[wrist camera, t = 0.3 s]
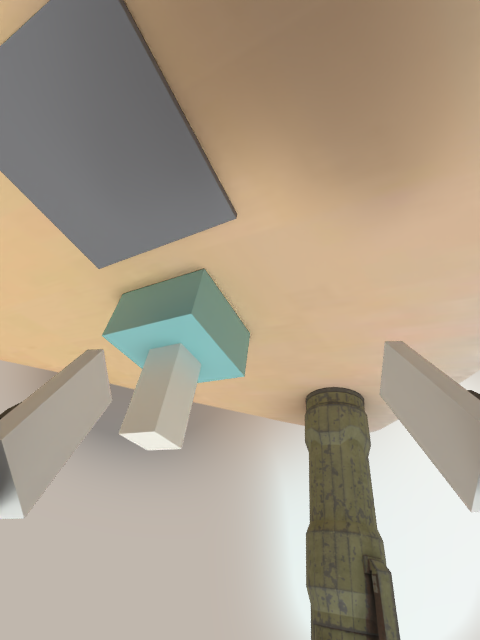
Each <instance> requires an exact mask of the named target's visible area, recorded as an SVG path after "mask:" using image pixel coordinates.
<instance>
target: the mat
mask: <svg viewBox="0 0 480 640" xmlns="http://www.w3.org/2000/svg"><path fill="white" fill-rule="evenodd" d="M0 171H1V172H2V173H3V174H4V175H5V176H6V177H7V178H8V179H9V180H10V181H11V182H12V183H13V184H14V185H15V186H16V187H17V188H18V189H19V190H20V191H21V192H22V193H23V194H24V195H25V196H26V197H27V198H28V199H29V200H30V201H31V202H32V203H33V204H34V205H35V206H36V207H37V208H38V209H39V210H40V211H41V212H42V213H43V214H44V215H45V216H46V217H47V218H48V219H49V220H50V221H51V222H52V223H53V224H54V225H55V226H56V227H57V228H58V229H59V230H60V231H61V232H62V233H63V234H64V235H65V236H66V237H67V238H68V239H69V240H70V241H71V242H72V243H73V244H74V245H75V246H76V247H77V248H78V249H79V250H80V251H81V252H82V253H83V254H84V255H85V256H86V257H87V258H88V259H89V260H90V261H91V262H92V263H93V264H94V265H95V266H96V267H97V268H98V269H100V268H103V267H106V266H108V265H111V264H114V263H117V262H119V261H122V260H125V259H128V258H130V257H133V256H136V255H138V254H141V253H144V252H147V251H149V250H152V249H155V248H157V247H160V246H163V245H166V244H168V243H171V242H174V241H177V240H179V239H182V238H185V237H187V236H190V235H193V234H196V233H198V232H201V231H204V230H206V229H209V228H212V227H215V226H217V225H220V224H223V223H225V222H228V221H231V220H234V219H236V217H237V213H236V211H235V210H234V208H233V206H232V204H231V202H230V200H229V198H228V196H227V195H226V193H225V191H224V189H223V187H222V185H221V183H220V181H219V179H218V178H217V176H216V174H215V172H214V170H213V168H212V166H211V164H210V163H209V161H208V159H207V157H206V155H205V153H204V151H203V149H202V148H201V146H200V144H199V142H198V140H197V138H196V136H195V134H194V132H193V131H192V129H191V127H190V125H189V123H188V121H187V119H186V117H185V116H184V114H183V112H182V110H181V108H180V106H179V104H178V102H177V100H176V99H175V97H174V95H173V93H172V91H171V89H170V87H169V85H168V84H167V82H166V80H165V78H164V76H163V74H162V72H161V70H160V69H159V67H158V65H157V63H156V61H155V59H154V57H153V55H152V53H151V52H150V50H149V48H148V46H147V44H146V42H145V40H144V38H143V37H142V35H141V33H140V31H139V29H138V27H137V25H136V23H135V22H134V20H133V18H132V16H131V14H130V12H129V10H128V8H127V6H126V5H125V3H124V1H123V0H50V1H49V2H48V3H47V4H46V5H45V6H43V7H42V8H41V9H40V10H39V11H38V12H37V13H36V14H35V15H34V16H33V17H32V18H30V19H29V20H28V21H27V22H26V23H25V24H24V25H23V26H22V27H21V28H20V29H19V30H17V31H16V32H15V33H14V34H13V35H12V36H11V37H10V38H9V39H8V40H7V41H6V42H5V43H3V44H2V45H1V46H0Z"/></svg>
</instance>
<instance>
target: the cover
mask: <svg viewBox="0 0 480 640" xmlns="http://www.w3.org/2000/svg"><path fill="white" fill-rule="evenodd" d="M102 336H103V337H104V338H105V339H106V340H108V341H109V342H110V343H111V344H113V345H114V346H115V347H116V348H117V349H119V350H120V351H121V352H122V353H124V354H125V355H126V356H127V357H128V358H130V359H131V360H132V361H133V362H135V363H136V364H137V365H138V366H139V367H141V368H142V372H141V374H140V377H139V380H138V383H137V385H136V388H135V391H134V394H133V396H132V399H131V402H130V404H129V407H128V410H127V413H126V415H125V418H124V421H123V423H122V426H121V429H120V431H119V434H120V435H121V436H123V437H125V438H126V439H128V440H130V441H132V442H133V443H135V444H137V445H139V446H141V447H142V448H144V449H146V450H165V449H182V445H183V441H184V436H185V432H186V428H187V423H188V419H189V415H190V411H191V407H192V402H193V398H194V394H195V390H196V385H197V383H201V382H208V381H215V380H222V379H230V378H237V377H244V376H245V368H246V361H247V353H248V346H249V338H250V333H249V331H248V330H247V329H246V327H245V326H244V324H243V323H242V321H241V320H240V319H239V317H238V316H237V314H236V313H235V312H234V310H233V309H232V307H231V306H230V304H229V303H228V302H227V300H226V299H225V297H224V296H223V295H222V293H221V292H220V290H219V289H218V287H217V286H216V285H215V283H214V282H213V280H212V279H211V278H210V276H209V275H208V273H207V272H206V270H205V269H202V270H199V271H196V272H192V273H189V274H186V275H183V276H179V277H176V278H173V279H170V280H167V281H163V282H160V283H157V284H154V285H150V286H147V287H144V288H141V289H137V290H134V291H131V292H128V293H125V294H123V295H122V297H121V299H120V301H119V303H118V305H117V307H116V309H115V311H114V313H113V315H112V317H111V319H110V321H109V323H108V325H107V327H106V329H105V331H104V333H103V335H102Z"/></svg>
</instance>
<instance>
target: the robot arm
mask: <svg viewBox="0 0 480 640" xmlns="http://www.w3.org/2000/svg"><path fill="white" fill-rule="evenodd" d="M380 396H381V397H382V398H383V400H384V401H385V402H386V404H387V405H388V406H389V407H390V409H391V410H392V411H393V413H394V414H395V415H396V416H397V418H398V419H399V420H400V422H401V423H402V424H403V425H404V426H405V428H406V429H407V431H408V432H409V433H410V434H411V436H412V437H413V438H414V440H415V441H416V442H417V443H418V445H419V446H420V447H421V448H422V450H423V451H424V452H425V454H426V455H427V456H428V457H429V459H430V460H431V461H432V463H433V464H434V465H435V466H436V468H437V469H438V470H439V472H440V473H441V474H442V475H443V477H444V478H445V479H446V481H447V482H448V483H449V484H450V485H451V487H452V488H453V490H454V491H455V492H456V493H457V495H458V496H459V497H460V499H461V500H462V501H463V502H464V503H465V505H466V506H467V508H468V509H469V510H470V511H471V512H480V394H478V393H476V392H474V391H472V390H466V389H464V388H463V387H462V386H460V385H459V384H458V383H457V382H455V381H454V380H453V379H451V378H450V377H449V376H447V375H446V374H445V373H443V372H442V371H441V370H439V369H438V368H437V367H435V366H434V365H433V364H431V363H430V362H429V361H428V360H426V359H425V358H424V357H422V356H421V355H420V354H418V353H417V352H416V351H414V350H413V349H412V348H410V347H409V346H408V345H406V344H405V343H404V342H402V341H385V346H384V356H383V366H382V376H381V386H380ZM111 402H112V397H111V392H110V385H109V379H108V373H107V367H106V361H105V356H104V350H103V349H97V350H86V351H85V352H84V353H83V354H81V355H80V356H79V357H78V358H77V359H75V360H74V361H73V362H72V363H70V364H69V365H68V366H67V367H65V368H64V369H63V370H62V371H60V372H59V373H58V374H57V375H55V376H54V377H53V378H52V379H51V380H49V381H48V382H47V383H46V384H44V385H43V386H42V387H40V388H39V389H38V390H37V391H35V392H34V393H33V394H32V395H30V396H29V397H28V398H27V399H25V400H24V401H23V402H21V403H19V404H17V405H15V406H13V407H11V408H9V409H7V410H6V411H4V412H3V413H2V414H1V415H0V519H18V518H25V517H26V516H27V514H28V513H29V511H30V510H31V509H32V507H33V506H34V504H35V503H36V502H37V501H38V499H39V498H40V497H41V495H42V494H43V493H44V491H45V490H46V488H47V487H48V486H49V485H50V483H51V482H52V481H53V479H54V478H55V477H56V475H57V474H58V473H59V471H60V470H61V468H62V467H63V466H64V465H65V463H66V462H67V461H68V459H69V458H70V457H71V455H72V454H73V453H74V451H75V450H76V449H77V447H78V446H79V445H80V443H81V442H82V441H83V439H84V438H85V437H86V435H87V434H88V433H89V431H90V430H91V429H92V427H93V426H94V425H95V423H96V422H97V421H98V419H99V418H100V416H101V415H102V414H103V413H104V411H105V410H106V409H107V407H108V406H109V405H110V403H111Z"/></svg>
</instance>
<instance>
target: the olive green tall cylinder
mask: <svg viewBox="0 0 480 640" xmlns="http://www.w3.org/2000/svg"><path fill="white" fill-rule="evenodd" d="M305 443H306V445H307V448H308V451H309V491H310V524H309V527H308V530H307V533H306V587H307V591H308V595H309V599H310V603H311V640H400V635H399V627H398V620H397V613H396V606H395V599H394V591H393V583H392V575H391V572H390V571H389V569H388V568H387V567H386V559H385V552H384V545H383V540H382V538H381V536H380V534H379V532H378V530H377V523H376V516H375V508H374V499H373V492H372V483H371V477H370V476H371V475H370V468H369V460H368V455H369V451H370V447H371V442H370V434H369V427H368V419H367V415H366V413H365V410H364V398H363V397H362V396H361V395H360V394H359V393H357V392H355V391H352V390H349V389H345V388H324V389H319V390H316V391H314V392H311V393H310V394H309V395H308V396H307V398H306V414H305Z"/></svg>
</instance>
